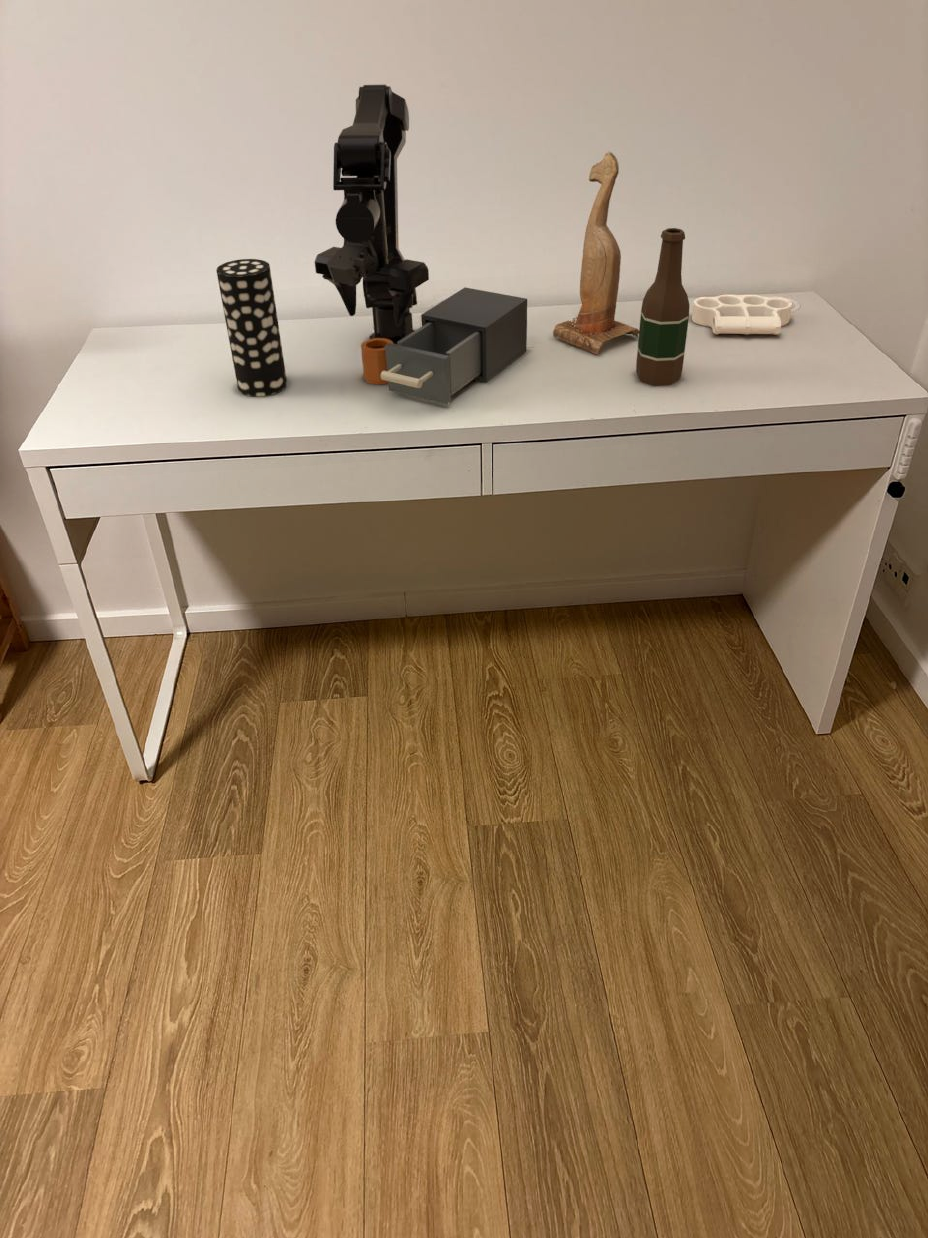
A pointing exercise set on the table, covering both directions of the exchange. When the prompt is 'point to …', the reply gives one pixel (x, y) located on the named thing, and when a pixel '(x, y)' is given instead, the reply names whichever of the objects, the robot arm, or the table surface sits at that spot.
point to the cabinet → (487, 324)
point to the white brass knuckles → (742, 314)
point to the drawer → (434, 361)
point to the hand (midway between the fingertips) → (375, 319)
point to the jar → (374, 359)
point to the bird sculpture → (598, 272)
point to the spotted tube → (252, 326)
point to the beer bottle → (664, 317)
